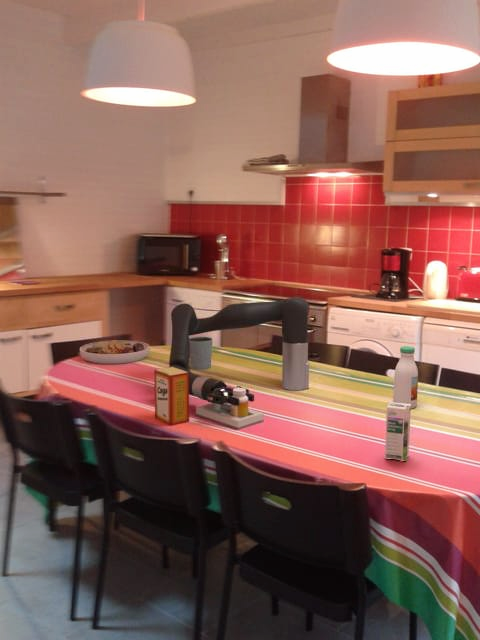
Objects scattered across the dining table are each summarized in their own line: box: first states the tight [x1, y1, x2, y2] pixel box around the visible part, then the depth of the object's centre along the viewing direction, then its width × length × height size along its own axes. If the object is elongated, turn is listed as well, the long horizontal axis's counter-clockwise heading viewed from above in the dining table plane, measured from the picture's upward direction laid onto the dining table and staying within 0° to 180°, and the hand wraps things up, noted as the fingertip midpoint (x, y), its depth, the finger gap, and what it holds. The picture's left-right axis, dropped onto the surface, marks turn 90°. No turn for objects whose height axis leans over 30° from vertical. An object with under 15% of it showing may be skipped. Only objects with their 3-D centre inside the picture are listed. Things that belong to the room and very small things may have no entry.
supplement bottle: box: [231, 387, 249, 418], centre depth 207 cm, size 5×5×10 cm
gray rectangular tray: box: [195, 402, 264, 430], centre depth 211 cm, size 19×11×3 cm, turn 44°
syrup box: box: [384, 401, 412, 462], centre depth 178 cm, size 6×6×14 cm
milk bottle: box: [392, 345, 419, 409], centre depth 223 cm, size 8×8×20 cm
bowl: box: [79, 339, 150, 365], centre depth 294 cm, size 30×30×8 cm
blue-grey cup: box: [189, 336, 213, 371], centre depth 276 cm, size 10×10×12 cm
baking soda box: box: [153, 366, 190, 427], centre depth 208 cm, size 10×6×16 cm
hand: (245, 400), depth 205 cm, fingers open, 5 cm apart
